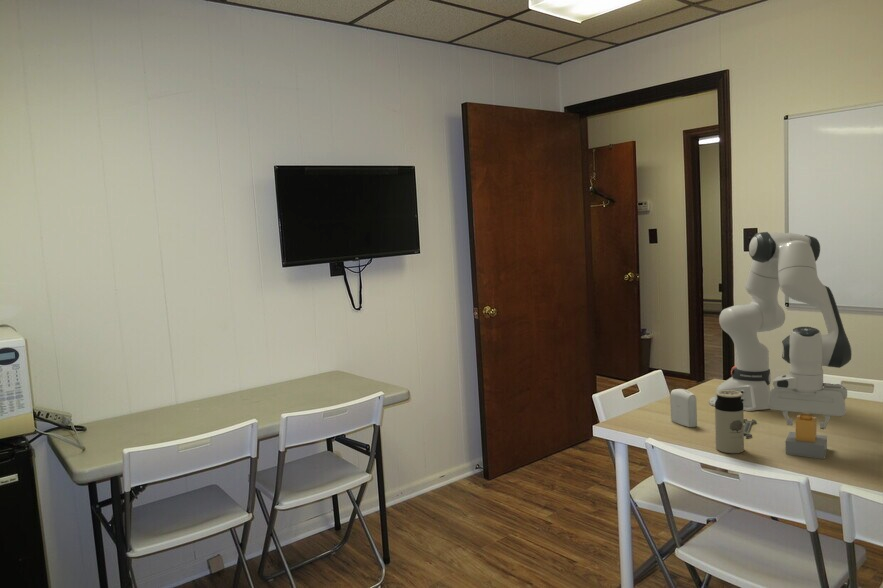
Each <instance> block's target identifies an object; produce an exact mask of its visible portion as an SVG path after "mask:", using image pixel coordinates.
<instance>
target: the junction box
mask: <svg viewBox="0 0 883 588" xmlns="http://www.w3.org/2000/svg"><path fill="white" fill-rule="evenodd" d="M827 450H828V436H827V435H823V434H821V435H819V434H816V440H815V442H811V441H803V440H796V431H789V432H788V434H787V437H786V439H785V454H786V455H791V456H796V457H797V456H799V457H806V458H813V459H819V460H820V459H821V460H824V459H825V458H826V454H827Z"/></svg>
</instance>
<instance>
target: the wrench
mask: <svg viewBox="0 0 883 588" xmlns="http://www.w3.org/2000/svg"><path fill="white" fill-rule="evenodd" d="M756 424H758V422H757V421H756V420H755V419H752V420H748V419H747V418H744V437H745V439H747V440H748V439H751V438H752V437H753V434H752V433H750V430H751V428H752V425H756Z"/></svg>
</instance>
